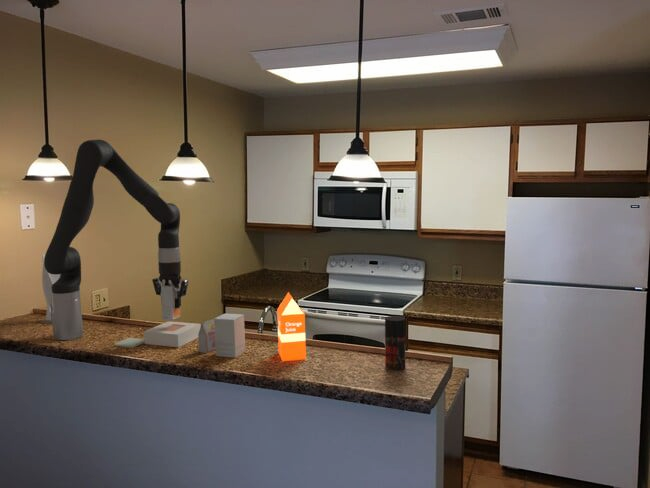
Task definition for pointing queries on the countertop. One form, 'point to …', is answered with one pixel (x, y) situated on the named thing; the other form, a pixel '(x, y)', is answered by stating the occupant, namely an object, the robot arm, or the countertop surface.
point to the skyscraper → (48, 290)
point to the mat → (130, 342)
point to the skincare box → (169, 304)
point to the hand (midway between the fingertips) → (171, 307)
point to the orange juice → (291, 330)
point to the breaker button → (173, 328)
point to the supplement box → (229, 335)
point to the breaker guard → (172, 334)
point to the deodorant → (395, 343)
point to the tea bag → (207, 337)
